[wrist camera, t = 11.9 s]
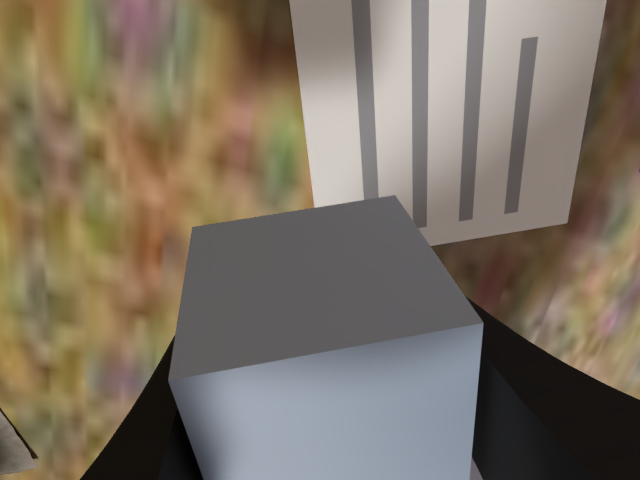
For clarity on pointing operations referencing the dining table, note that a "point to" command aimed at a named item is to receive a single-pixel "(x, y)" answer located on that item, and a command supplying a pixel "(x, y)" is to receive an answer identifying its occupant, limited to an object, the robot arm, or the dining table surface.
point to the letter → (448, 107)
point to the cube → (325, 349)
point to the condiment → (13, 450)
